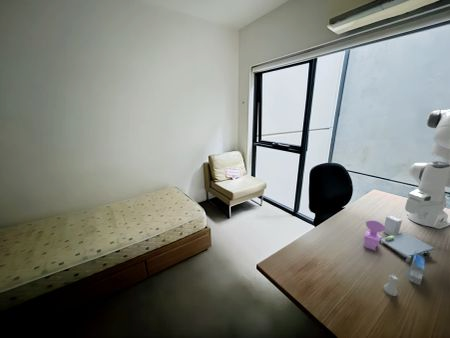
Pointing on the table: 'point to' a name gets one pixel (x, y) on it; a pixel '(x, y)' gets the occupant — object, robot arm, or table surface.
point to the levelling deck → (406, 244)
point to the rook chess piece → (391, 285)
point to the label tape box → (417, 269)
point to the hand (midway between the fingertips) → (421, 218)
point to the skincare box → (392, 225)
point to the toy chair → (373, 234)
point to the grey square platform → (423, 255)
